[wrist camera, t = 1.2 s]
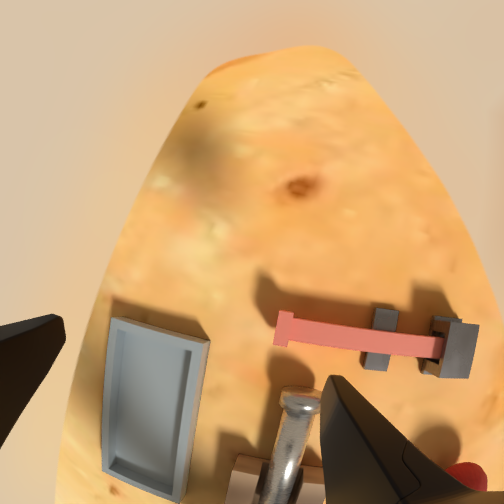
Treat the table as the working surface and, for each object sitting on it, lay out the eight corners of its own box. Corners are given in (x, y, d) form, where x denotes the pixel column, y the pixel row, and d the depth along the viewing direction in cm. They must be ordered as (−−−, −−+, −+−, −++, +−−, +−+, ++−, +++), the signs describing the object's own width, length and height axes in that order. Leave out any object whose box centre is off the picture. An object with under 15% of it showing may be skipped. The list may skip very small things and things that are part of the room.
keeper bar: (456, 361, 20) (469, 366, 18) (274, 340, 23) (272, 344, 20) (462, 334, 20) (476, 336, 18) (280, 309, 23) (279, 310, 20)
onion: (444, 498, 18) (472, 536, 10) (407, 491, 19) (433, 535, 11) (476, 455, 18) (514, 486, 11) (442, 445, 19) (480, 481, 12)
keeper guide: (447, 373, 21) (467, 382, 17) (362, 367, 22) (373, 378, 19) (459, 318, 21) (480, 320, 18) (374, 307, 23) (387, 308, 19)
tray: (185, 493, 22) (179, 503, 20) (111, 463, 23) (102, 470, 21) (210, 340, 24) (203, 343, 22) (123, 316, 26) (111, 317, 24)
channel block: (309, 512, 20) (310, 530, 17) (228, 498, 21) (221, 515, 18) (327, 467, 21) (330, 485, 18) (238, 454, 22) (232, 470, 19)
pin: (290, 500, 21) (289, 520, 17) (254, 494, 21) (249, 514, 18) (323, 389, 22) (327, 402, 19) (282, 383, 23) (281, 395, 20)
